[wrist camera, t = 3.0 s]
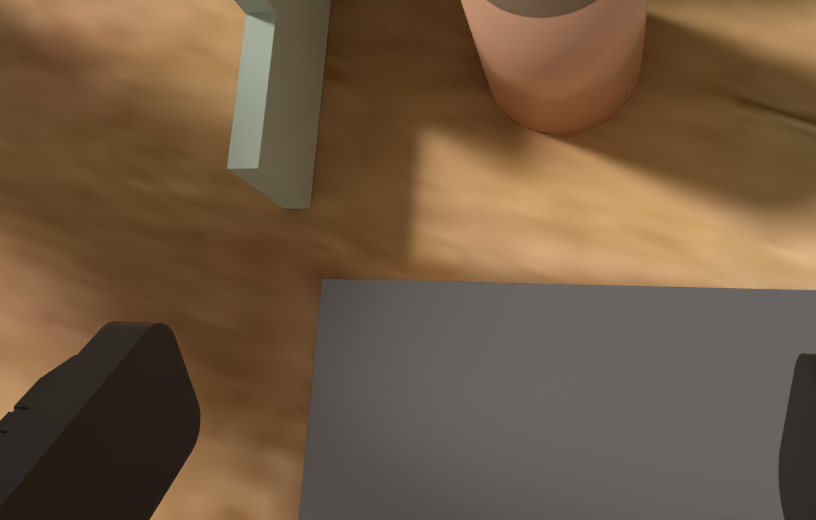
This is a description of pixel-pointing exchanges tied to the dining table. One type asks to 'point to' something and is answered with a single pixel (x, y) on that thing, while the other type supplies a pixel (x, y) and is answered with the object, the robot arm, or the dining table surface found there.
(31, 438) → the robot arm
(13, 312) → the dining table surface
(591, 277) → the dining table surface
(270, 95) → the stepped shelf frame
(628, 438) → the charcoal mat
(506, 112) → the pink and brown cylinder
